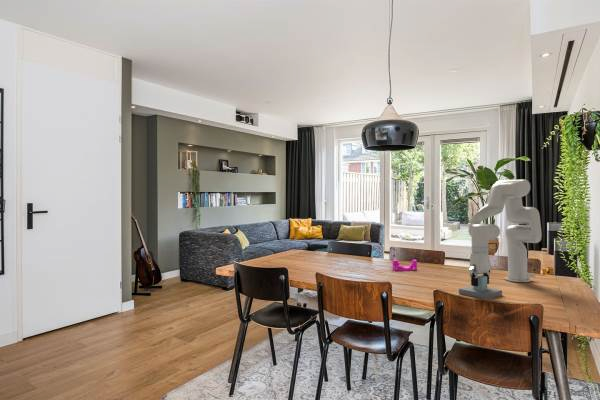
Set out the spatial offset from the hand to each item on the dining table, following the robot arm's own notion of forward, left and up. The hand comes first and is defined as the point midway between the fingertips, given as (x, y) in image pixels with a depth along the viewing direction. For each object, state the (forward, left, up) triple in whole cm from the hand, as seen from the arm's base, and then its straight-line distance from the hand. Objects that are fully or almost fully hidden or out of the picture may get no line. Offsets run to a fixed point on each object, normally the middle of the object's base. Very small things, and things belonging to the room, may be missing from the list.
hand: (480, 284), depth 183 cm
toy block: (+15, -63, -5) cm, 65 cm away
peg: (0, 0, -5) cm, 5 cm away
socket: (0, 0, -5) cm, 5 cm away
